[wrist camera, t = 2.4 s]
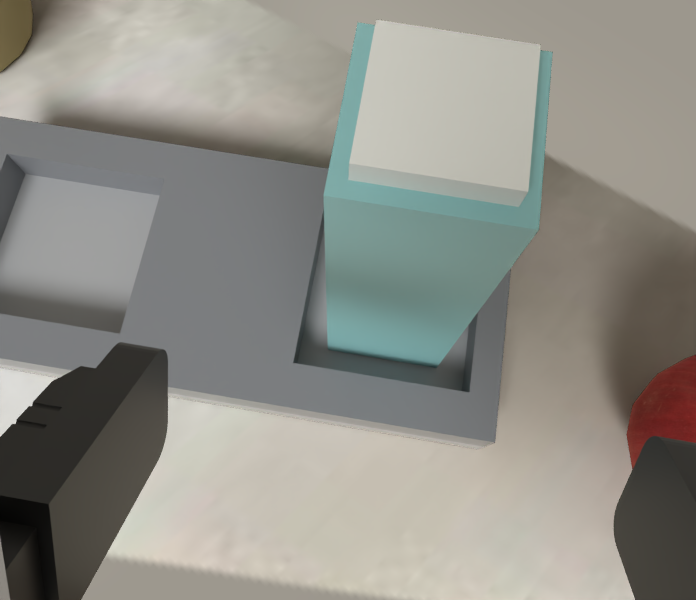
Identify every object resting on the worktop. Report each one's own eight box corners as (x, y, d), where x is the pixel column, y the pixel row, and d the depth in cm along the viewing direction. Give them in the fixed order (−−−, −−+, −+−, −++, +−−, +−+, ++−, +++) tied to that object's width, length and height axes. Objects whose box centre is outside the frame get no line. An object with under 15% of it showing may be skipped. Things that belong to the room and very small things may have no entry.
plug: (327, 349, 23) (322, 179, 11) (349, 230, 25) (365, -32, 13) (436, 367, 23) (549, 215, 11) (451, 247, 24) (565, -2, 13)
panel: (-53, 358, 24) (-96, 341, 21) (24, 150, 27) (-6, 115, 24) (478, 449, 23) (495, 442, 21) (500, 227, 26) (517, 198, 24)
